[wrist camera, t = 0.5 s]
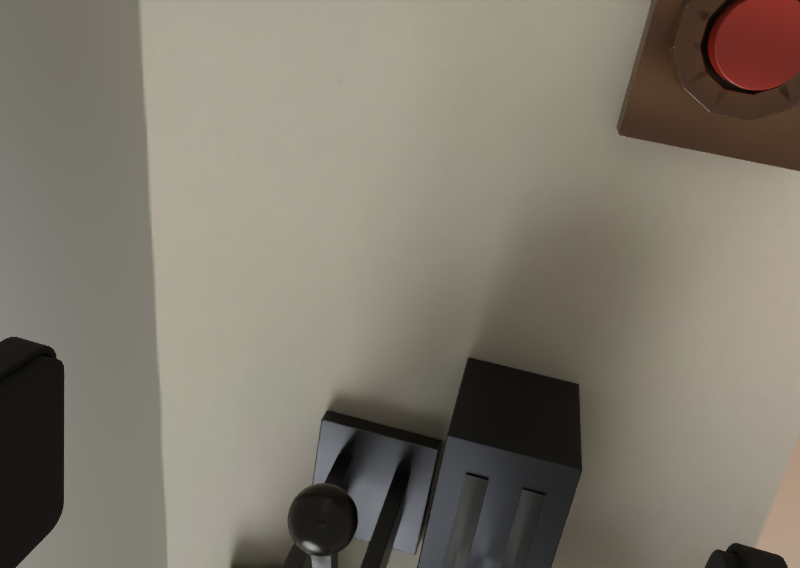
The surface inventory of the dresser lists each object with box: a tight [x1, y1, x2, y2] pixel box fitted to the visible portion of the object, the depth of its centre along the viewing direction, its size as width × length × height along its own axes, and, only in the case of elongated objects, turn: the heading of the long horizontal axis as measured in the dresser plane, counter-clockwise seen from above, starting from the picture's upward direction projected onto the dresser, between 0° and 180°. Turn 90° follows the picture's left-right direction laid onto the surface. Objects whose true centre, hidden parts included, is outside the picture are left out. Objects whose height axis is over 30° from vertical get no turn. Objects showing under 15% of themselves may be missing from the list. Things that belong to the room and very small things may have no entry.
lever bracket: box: [282, 411, 441, 568], centre depth 45 cm, size 9×8×13 cm
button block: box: [617, 0, 800, 171], centre depth 34 cm, size 11×9×4 cm
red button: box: [708, 0, 800, 90], centre depth 32 cm, size 4×4×2 cm
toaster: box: [417, 357, 582, 568], centre depth 44 cm, size 14×7×9 cm, turn 171°
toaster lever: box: [288, 483, 358, 568], centre depth 37 cm, size 13×3×3 cm, turn 171°
